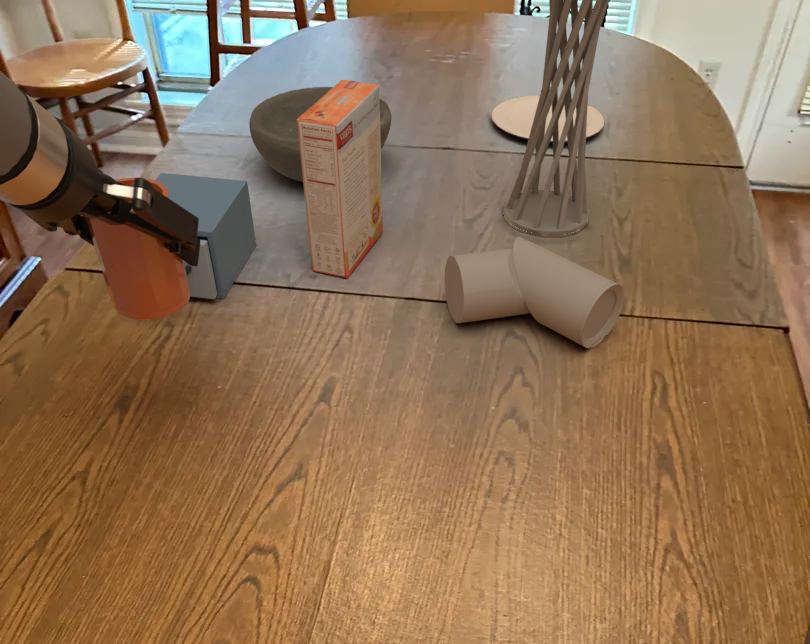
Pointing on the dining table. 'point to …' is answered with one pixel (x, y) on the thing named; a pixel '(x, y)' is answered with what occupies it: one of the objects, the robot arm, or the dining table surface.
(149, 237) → the clay cup
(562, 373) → the dining table surface
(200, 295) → the drawer
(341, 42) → the dining table surface
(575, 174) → the vase
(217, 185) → the blue-grey drawer box
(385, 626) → the dining table surface
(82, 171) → the robot arm
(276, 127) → the bowl
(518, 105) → the plate
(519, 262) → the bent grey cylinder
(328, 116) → the cracker box
